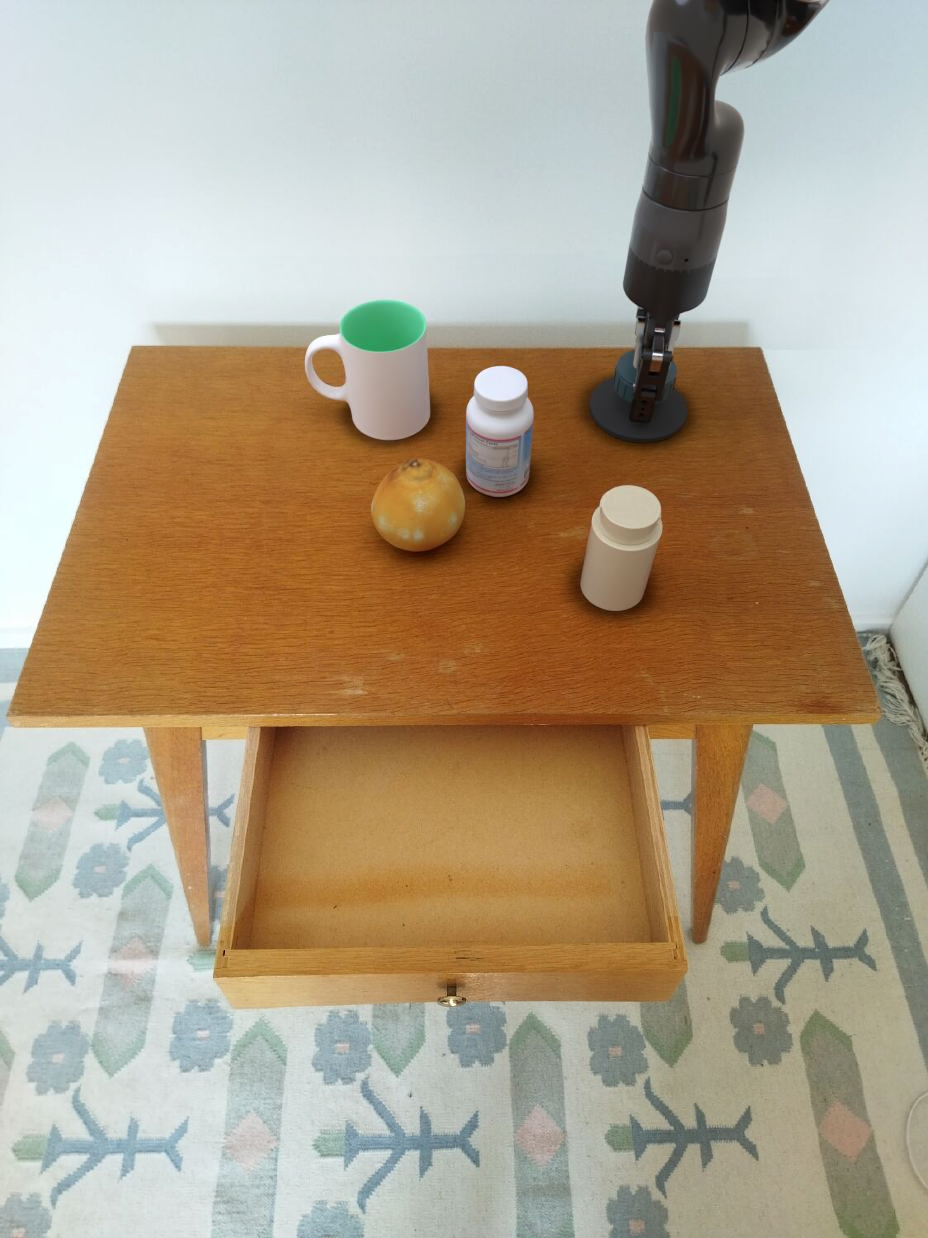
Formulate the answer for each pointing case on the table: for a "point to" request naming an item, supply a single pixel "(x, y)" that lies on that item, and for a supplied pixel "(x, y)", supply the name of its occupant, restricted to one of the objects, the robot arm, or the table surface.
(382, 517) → the fruit
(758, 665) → the table surface
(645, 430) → the coaster
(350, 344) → the mug
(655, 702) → the table surface
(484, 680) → the table surface
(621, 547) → the jar
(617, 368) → the lid
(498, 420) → the pill bottle
